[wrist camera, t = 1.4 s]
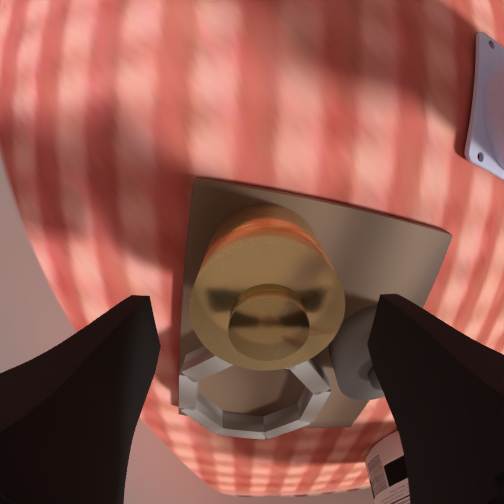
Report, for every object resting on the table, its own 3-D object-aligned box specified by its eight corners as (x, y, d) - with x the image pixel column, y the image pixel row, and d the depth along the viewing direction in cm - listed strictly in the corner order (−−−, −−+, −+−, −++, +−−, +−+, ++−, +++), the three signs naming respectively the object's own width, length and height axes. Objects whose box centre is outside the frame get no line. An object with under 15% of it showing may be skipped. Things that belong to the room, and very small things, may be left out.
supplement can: (444, 408, 20) (495, 531, 6) (427, 445, 23) (461, 545, 9) (366, 436, 21) (399, 577, 7) (361, 467, 24) (383, 577, 10)
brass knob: (331, 215, 12) (375, 270, 8) (303, 311, 14) (321, 391, 10) (216, 194, 12) (191, 239, 7) (202, 296, 14) (181, 375, 9)
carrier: (446, 231, 13) (486, 259, 10) (348, 421, 19) (357, 457, 16) (196, 176, 12) (176, 195, 9) (180, 407, 19) (171, 447, 15)
